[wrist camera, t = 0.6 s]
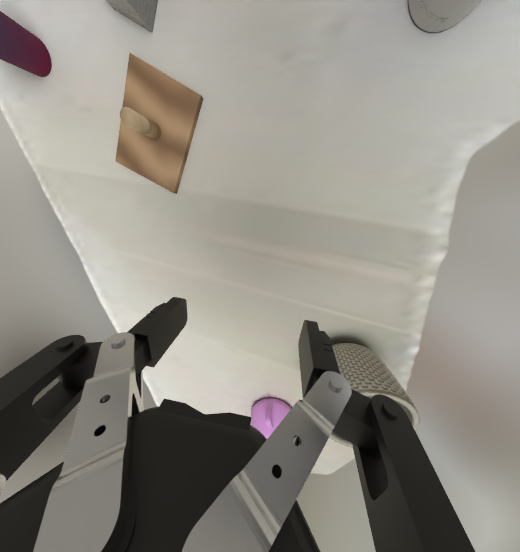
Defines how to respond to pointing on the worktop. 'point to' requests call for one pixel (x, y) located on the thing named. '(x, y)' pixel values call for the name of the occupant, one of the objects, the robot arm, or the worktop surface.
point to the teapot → (268, 415)
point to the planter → (370, 380)
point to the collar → (137, 11)
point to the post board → (166, 115)
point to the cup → (22, 48)
